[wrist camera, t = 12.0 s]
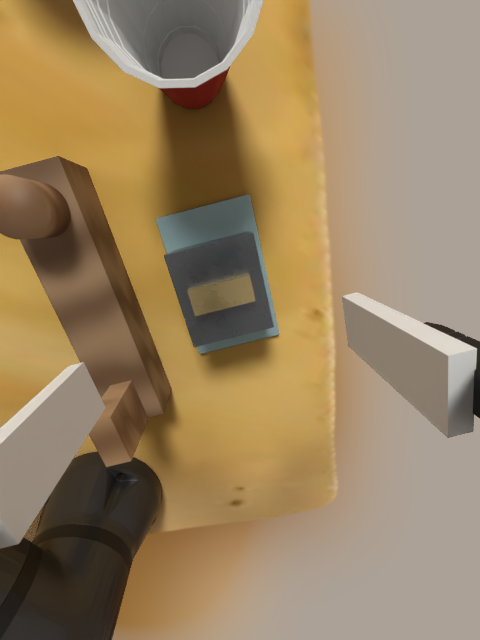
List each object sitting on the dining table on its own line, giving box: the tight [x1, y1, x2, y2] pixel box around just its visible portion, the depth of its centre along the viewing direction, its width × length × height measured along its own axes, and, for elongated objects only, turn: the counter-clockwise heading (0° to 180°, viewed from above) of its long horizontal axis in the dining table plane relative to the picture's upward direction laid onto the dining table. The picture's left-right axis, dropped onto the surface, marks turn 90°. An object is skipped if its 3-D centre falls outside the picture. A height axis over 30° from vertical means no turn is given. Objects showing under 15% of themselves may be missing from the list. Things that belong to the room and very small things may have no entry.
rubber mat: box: [156, 194, 279, 354], centre depth 31 cm, size 16×10×1 cm, turn 14°
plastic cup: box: [73, 0, 263, 108], centre depth 20 cm, size 11×11×12 cm
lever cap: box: [164, 231, 274, 347], centre depth 28 cm, size 9×8×7 cm
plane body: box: [0, 156, 171, 467], centre depth 26 cm, size 26×6×11 cm, turn 14°
